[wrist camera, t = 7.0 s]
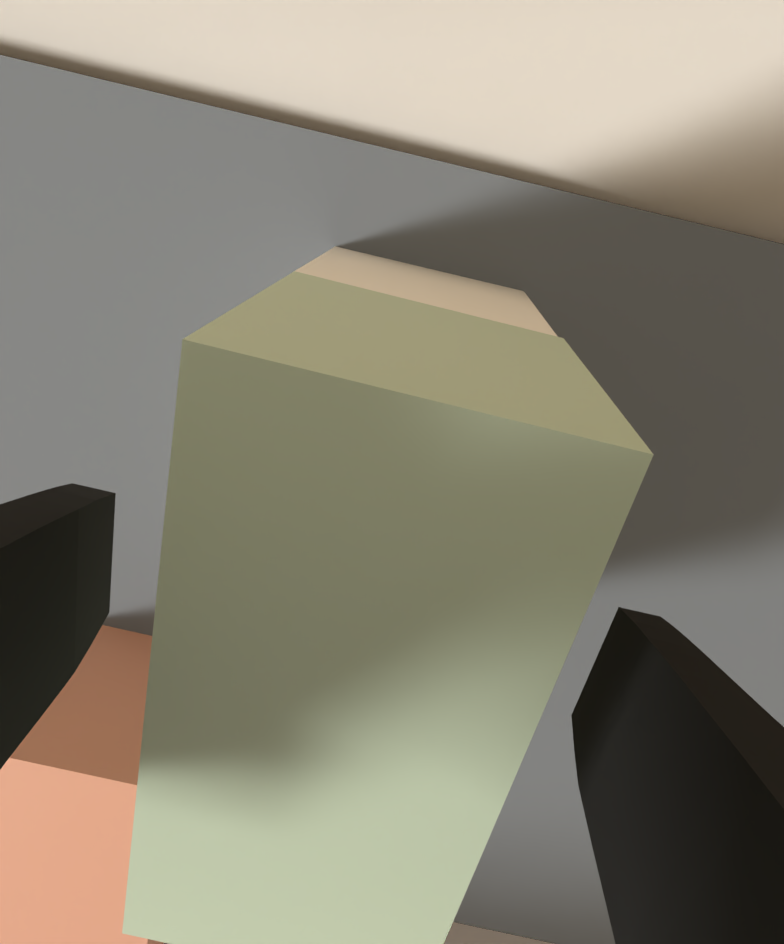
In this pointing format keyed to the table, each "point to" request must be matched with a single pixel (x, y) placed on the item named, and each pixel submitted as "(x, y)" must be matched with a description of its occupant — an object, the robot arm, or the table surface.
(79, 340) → the mat
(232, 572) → the green brick
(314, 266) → the cream brick
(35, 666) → the robot arm
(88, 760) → the terracotta brick
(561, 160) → the table surface
